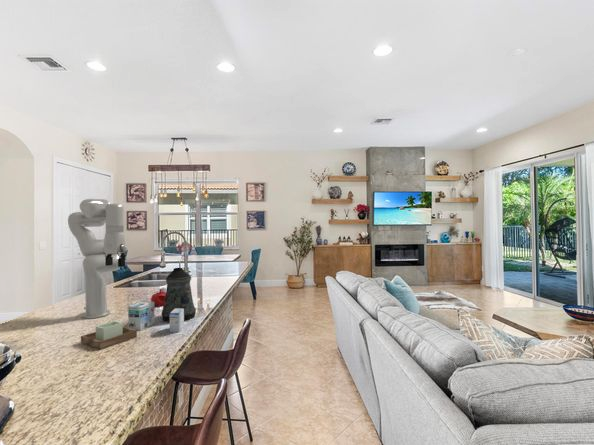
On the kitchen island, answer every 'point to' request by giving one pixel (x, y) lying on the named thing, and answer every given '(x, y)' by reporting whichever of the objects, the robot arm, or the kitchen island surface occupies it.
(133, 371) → the kitchen island surface
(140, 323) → the light bulb box
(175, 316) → the medicine box
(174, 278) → the beer stein
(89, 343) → the crate
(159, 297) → the pomegranate
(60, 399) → the kitchen island surface
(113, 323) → the small crate
